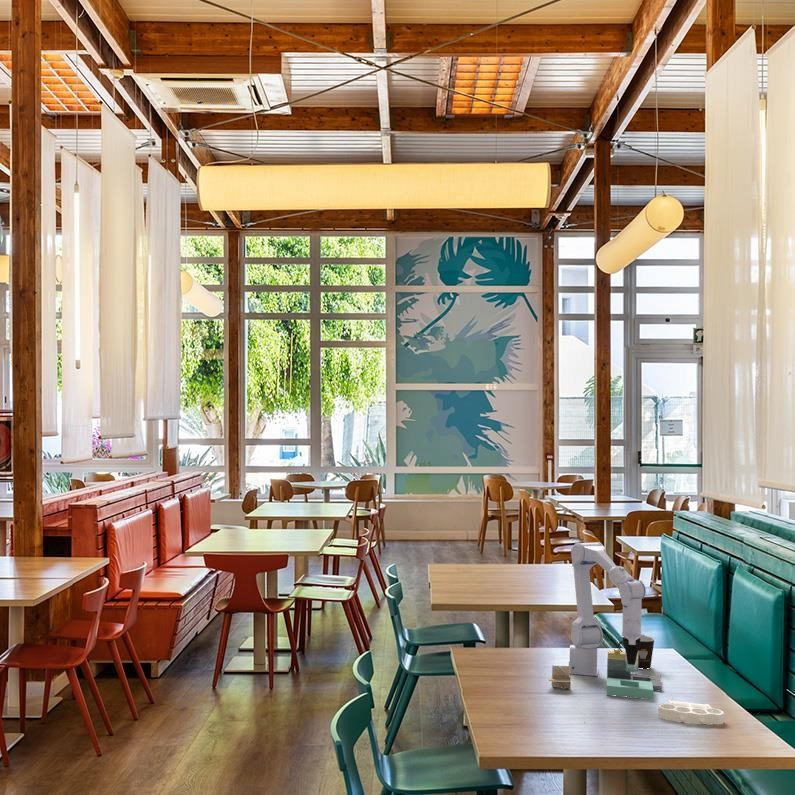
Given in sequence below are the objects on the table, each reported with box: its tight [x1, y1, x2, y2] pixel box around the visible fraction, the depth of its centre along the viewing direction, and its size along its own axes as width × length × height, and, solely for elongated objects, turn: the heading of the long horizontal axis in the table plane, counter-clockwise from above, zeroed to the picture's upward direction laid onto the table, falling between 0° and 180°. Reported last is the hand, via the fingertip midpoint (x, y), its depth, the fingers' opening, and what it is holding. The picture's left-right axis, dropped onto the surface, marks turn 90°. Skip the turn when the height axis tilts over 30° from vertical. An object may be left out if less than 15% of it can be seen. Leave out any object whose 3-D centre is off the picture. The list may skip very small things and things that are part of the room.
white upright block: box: [624, 650, 639, 673], centre depth 282 cm, size 4×4×7 cm
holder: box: [606, 677, 654, 700], centre depth 281 cm, size 14×9×3 cm, turn 76°
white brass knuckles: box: [657, 699, 725, 725], centre depth 260 cm, size 3×18×15 cm
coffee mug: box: [617, 635, 655, 670], centre depth 313 cm, size 12×9×10 cm
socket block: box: [606, 657, 663, 692], centre depth 292 cm, size 17×12×7 cm
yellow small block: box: [607, 648, 625, 660], centre depth 294 cm, size 6×2×3 cm, turn 76°
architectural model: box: [548, 665, 572, 690], centre depth 284 cm, size 3×7×7 cm, turn 87°
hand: (631, 662), depth 282 cm, fingers closed on white upright block, 4 cm apart
